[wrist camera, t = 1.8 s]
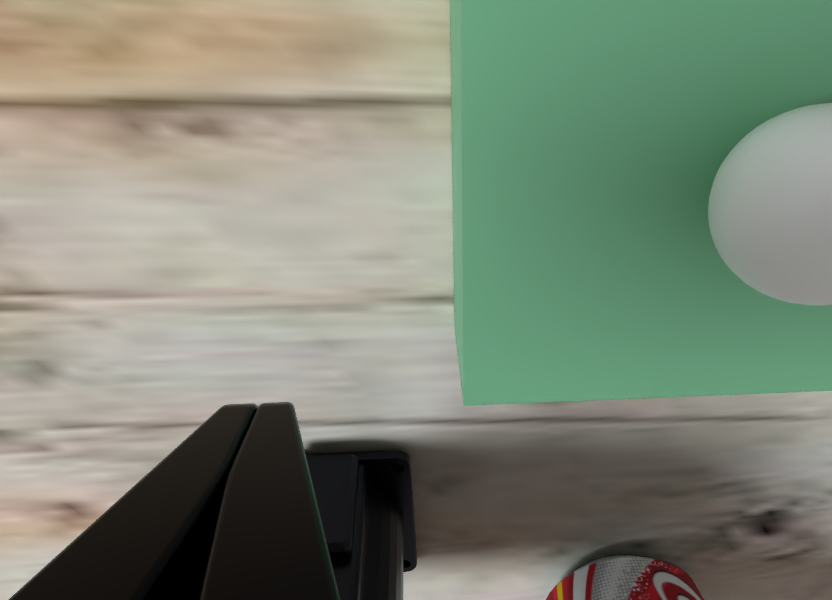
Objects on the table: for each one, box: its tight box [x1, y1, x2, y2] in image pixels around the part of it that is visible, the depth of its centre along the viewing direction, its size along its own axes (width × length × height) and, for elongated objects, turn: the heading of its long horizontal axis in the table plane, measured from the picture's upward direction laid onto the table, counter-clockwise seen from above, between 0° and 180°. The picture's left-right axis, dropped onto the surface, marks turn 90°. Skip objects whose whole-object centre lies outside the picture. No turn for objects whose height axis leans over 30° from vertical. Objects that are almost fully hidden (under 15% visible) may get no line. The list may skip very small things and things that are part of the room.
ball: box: [708, 103, 832, 306], centre depth 13 cm, size 4×4×4 cm
